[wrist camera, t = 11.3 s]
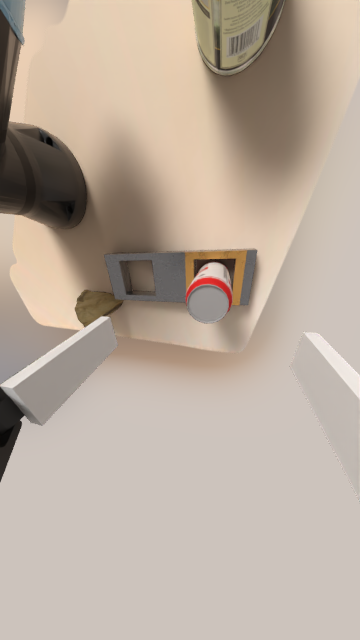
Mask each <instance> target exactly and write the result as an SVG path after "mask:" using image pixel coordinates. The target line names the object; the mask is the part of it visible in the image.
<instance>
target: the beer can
mask: <svg viewBox="0 0 360 640" xmlns="http://www.w3.org/2000/svg"><path fill="white" fill-rule="evenodd" d="M185 299H186V306H187V309H188V311H189V313H190V315H191V316H192V317H193V318H194V319H195V320H197V321H199V322H202V323H214V322H217V321H219V320H220V319H222V318H223V317H224V316H225V315H226V314H227V312H228V311H229V310H230V308H231V305H232V302H233V293H232V287H231V281H230V275H229V271H228V269H227V267H226V266H225V265H224V264H222V263H220V262H216V261H213V262H209V263H207V264H205V265H204V266H203V267H202V268H201V269H200V271H199V272H198V274H197V275H196V277H195V278H194V280H193V281H192V283H191V284H190V286H189V288H188V289H187V292H186V297H185Z"/></svg>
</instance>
